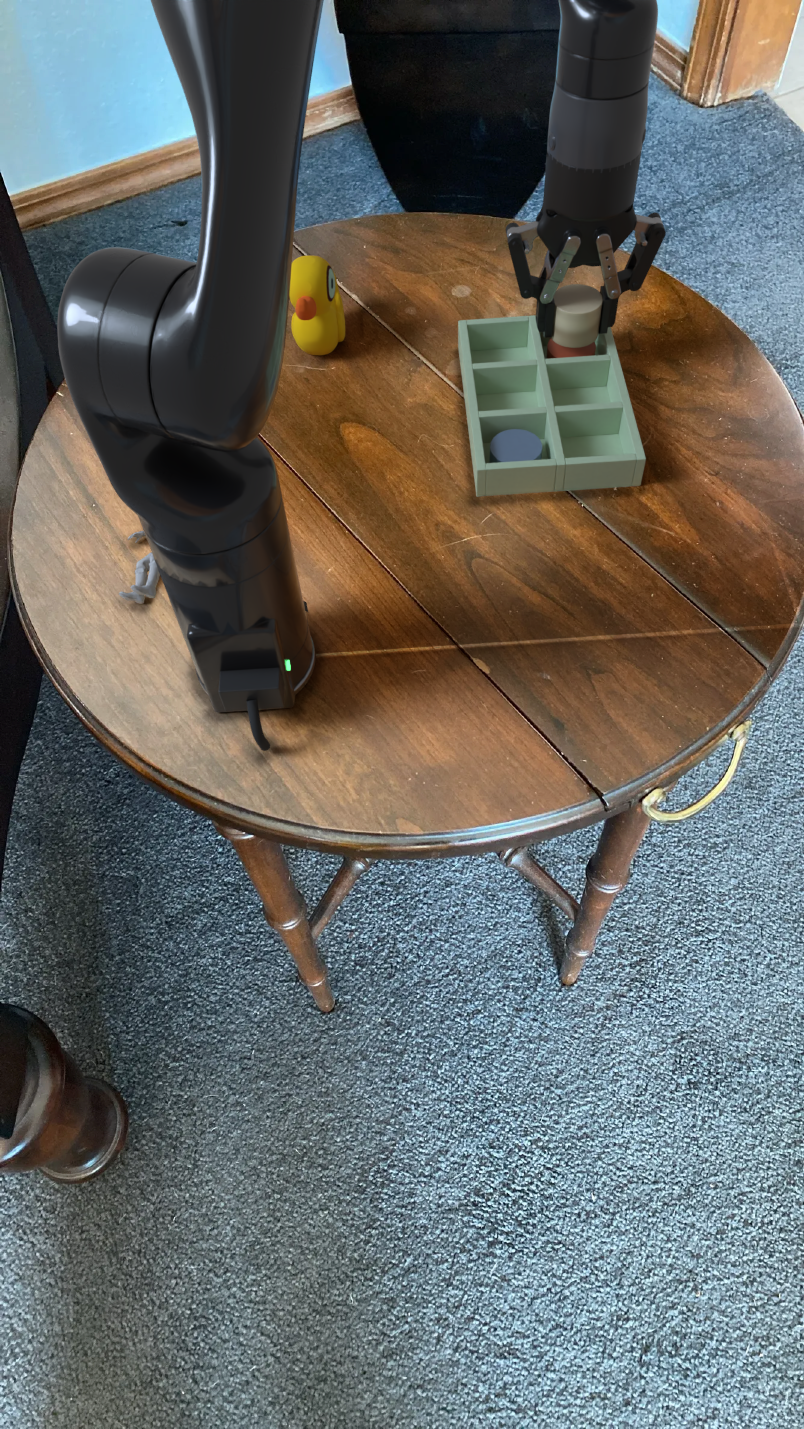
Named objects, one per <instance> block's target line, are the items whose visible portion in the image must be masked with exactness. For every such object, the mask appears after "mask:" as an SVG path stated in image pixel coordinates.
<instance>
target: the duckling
mask: <svg viewBox="0 0 804 1429" xmlns="http://www.w3.org/2000/svg"><path fill="white" fill-rule="evenodd" d="M336 275H337V274H336V273H335V271H334V269H333V267H332V266H331V265H330V263H329V262H328V261H327V260H326V259H325V258H324V257H321V256H319V255H312V254H311V255H310V254H309V255H307V254H306V255H301V256H299V257H296V258H295V259H294V260H292V266H291V280H290V293H289V303H291V305H292V306H293V308H294V312H293V314H292V316H291V322H290V324H291V325H290V327H291V334H292V336H293V339H294V341H295V343H296V345H297V346H298V348H299V349H300V350H301V351H303V353H306V354H308V355H311V356H327V355H329V354H331V353H332V352H333V351H334V350H335V349H336V348H337V346H338V344H339V343H341V342H343V341H344V340H345V337H346V318H345V308H344V303H343V299H342V295H341V293H340V289H339V284H338V279H337V276H336Z"/></svg>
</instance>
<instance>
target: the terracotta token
mask: <svg viewBox="0 0 804 1429" xmlns="http://www.w3.org/2000/svg"><path fill="white" fill-rule="evenodd" d="M595 350H596V344H595V342H593V343H592V344H590V345H587V346H585V347H580V348H569V347H564V346H561V345H559V344H557V343H555V342H554V341H553V340H552V339H550V340H549V342H548V345H547V356H546V359H551V358H565V357H580V356H595Z"/></svg>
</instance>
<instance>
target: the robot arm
mask: <svg viewBox="0 0 804 1429" xmlns="http://www.w3.org/2000/svg"><path fill="white" fill-rule="evenodd" d="M150 3H151V6H152V9H153V12H154V15H155V19H156V21H157V24H158V27H159V30H160V32H161V35H162V37H163V40H164V43H165V45H166V48H167V51H168V54H169V56H170V59H171V62H172V64H173V67H174V70H175V72H176V75H177V77H178V80H179V83H180V85H181V88H182V91H183V94H184V97H185V100H186V103H187V106H188V109H189V112H190V116H191V119H192V123H193V127H194V131H195V135H196V141H197V147H198V151H199V152H198V153H199V159H200V160H199V161H200V174H201V212H200V229H199V230H200V231H199V243H198V250H197V257H196V258H197V259H196V261H193V260H189V259H184V258H179V257H176V256H170V255H166V254H165V255H164V254H160V253H155V252H150V251H146V250H141V249H136V248H130V247H122V246H112V247H105V248H101V249H98V250H95V251H93V252H91V253H90V254H88V255H87V256H85V257H84V258H83V259H82V260H80V261H79V263H77V265H76V266H75V267H74V268H73V270H72V271H71V272H70V274H69V276H68V278H67V280H66V282H65V285H64V287H63V290H62V294H61V297H60V301H59V305H58V310H57V311H58V312H57V325H56V326H57V327H56V328H57V329H56V330H57V346H58V354H59V359H60V360H59V361H60V365H61V369H62V373H63V376H64V380H65V383H66V386H67V389H68V392H69V394H70V397H71V401H72V402H73V405H74V407H75V409H76V412H77V414H78V417H79V419H80V421H81V423H82V425H83V428H84V429H85V432H86V434H87V435H88V438H89V440H90V442H91V445H92V446H93V448H94V450H95V452H96V455H97V457H98V459H99V461H100V463H101V465H102V467H103V470H104V472H105V474H106V476H107V478H108V481H109V482H110V485H111V486H112V488H113V490H114V491H115V494H116V495H117V496H118V498H119V499H120V500H121V501H122V502H123V504H125V506H127V508H129V509H130V510H131V511H132V512H133V513H134V514H135V515H136V516H137V518H138V520H139V522H140V525H141V527H142V531H144V533H145V535H146V537H145V538H146V541H147V544H148V546H149V549H150V551H151V552H152V554H153V557H154V560H155V563H156V565H157V568H158V571H159V573H160V576H159V577H160V579H161V581H162V584H163V586H164V589H165V592H166V594H167V597H168V599H169V602H170V605H171V608H172V610H173V613H174V615H175V616H174V617H175V618H176V621H177V623H178V626H179V629H180V631H181V633H182V634H181V635H182V637H183V639H184V642H185V644H186V647H187V650H188V652H189V655H190V658H191V660H192V662H193V665H194V666H193V667H194V670H195V675H196V677H197V679H198V683H199V685H200V687H201V689H202V691H203V692H204V693H205V694H206V695H207V696H208V698H209V701H210V703H211V707H212V709H213V711H214V712H215V713H230V712H232V713H233V712H245V711H246V712H247V715H248V721H249V727H250V730H251V734H252V737H253V739H254V742H255V743H256V745H257V746H258V747H259V749H260V750H261V751H263V752H266V751H268V750H270V748H271V743H270V742H269V740H268V739H267V737H266V736H265V734H264V730H263V727H262V723H261V716H260V711H263V710H264V711H265V710H277V709H278V710H279V709H291V708H294V706H295V699H296V695H297V694H299V693H300V692H301V690H303V688H304V687H305V686H306V685H307V684H308V682H309V681H310V679H311V677H312V674H313V673H314V669H315V667H316V666H315V665H316V658H317V656H316V649H315V644H314V641H313V638H312V636H311V630H310V626H309V622H308V621H309V620H308V617H307V613H310V612H309V608H308V603H307V602H306V601H305V600H304V597H303V592H302V587H301V581H300V578H299V573H298V568H297V562H296V559H295V558H296V557H295V553H294V548H293V543H292V538H291V534H290V530H289V529H290V528H289V524H288V516H287V513H286V508H285V503H284V498H283V492H282V488H281V482H280V477H279V474H278V469H277V465H276V462H275V460H274V457H273V455H272V454H271V451H270V450H269V448H267V446H266V444H265V443H264V442H263V441H262V440H261V439H259V437H258V436H259V435H260V433H261V432H262V430H263V429H264V427H265V425H266V422H267V421H268V419H269V416H270V414H271V411H272V409H273V406H274V404H275V399H276V396H277V392H278V388H279V384H280V379H281V373H282V368H283V362H284V356H285V348H286V339H287V328H288V327H287V326H288V315H289V307H290V306H289V304H290V300H289V293H290V280H291V266H292V262H293V253H294V252H293V251H294V237H295V227H296V226H295V225H296V213H297V200H298V199H297V198H298V185H299V184H298V183H299V173H300V166H301V156H302V148H303V139H304V132H305V124H306V117H307V109H308V104H309V96H310V90H311V81H312V76H313V69H314V62H315V56H316V49H317V44H318V43H317V42H318V36H319V31H320V24H321V18H322V13H323V7H324V0H150ZM558 5H559V12H560V25H559V33H558V41H557V54H556V65H555V66H556V68H555V79H554V87H553V93H552V98H551V102H550V109H549V115H548V116H549V119H548V131H547V142H546V143H547V145H546V159H545V169H544V184H543V197H542V198H543V199H542V205H541V208H540V210H539V212H538V214H537V215H536V218H535V220H534V221H531V222H528V223H526V224H522V225H519V224H518V223H517V222H513V221H512V222H510V223H508V224H507V225H506V226H505V235H506V240H507V241H506V242H507V247H508V250H509V254H510V258H511V261H512V266H513V271H514V274H515V278H516V282H517V287H518V290H519V294H520V297H521V298H522V299H524V300H529V299H531V298H533V299H535V300H536V307H535V315H536V318H535V319H536V324H537V328H538V331H539V332H543V336H544V338H548V337H552V330H553V319H554V309H555V301H554V295H555V293H556V290H558V289H559V286H560V284H561V283H563V281H564V279H565V277H566V275H567V272H568V271H569V269H575V268H578V267H581V266H587V267H591V268H592V267H599V268H600V271H601V276H602V280H603V285H600V287H599V292H600V293H601V295H602V299H603V303H602V311H601V318H600V325H599V334H606V333H607V331H608V327H611V328H614V325H615V324H616V318H617V312H618V307H619V306H618V305H619V299H620V297H621V295H622V294H624V293H625V292H627V291H628V292H629V291H631V292H637V291H639V290H640V289H641V288H642V286H643V284H644V282H645V280H646V277H647V276H648V273H649V271H650V269H651V267H652V265H653V263H654V261H655V258H656V256H657V254H658V253H659V250H660V248H661V245H662V243H663V241H664V240H665V237H666V234H667V231H666V229H665V226H664V222H663V220H662V217H661V214H660V213H659V212H657V211H656V212H651V213H650V214H648V215H647V216H646V215H641V214H637V213H636V212H635V209H634V203H635V197H636V191H637V185H638V184H637V183H638V177H639V171H640V164H641V157H642V156H641V155H642V152H643V146H644V142H645V140H646V134H647V126H646V124H647V120H648V118H647V117H648V106H649V105H648V104H649V84H650V83H649V82H650V75H651V69H652V62H653V55H654V48H655V41H656V34H657V29H658V28H657V27H658V19H659V7H658V6H659V5H658V0H558ZM633 232H634V239H635V241H636V242H635V244H634V246H633V247H632V251H631V253H630V255H629V258H628V259H627V262H626V264H625V266H624V269H621V270H619V271H618V269H617V264H616V258H615V255H614V254H615V253H616V252H617V250H619V248H620V247H621V246H622V244H624V242H625V241H626V240H627V239H628V238H629V237H630V235H631V234H632V233H633ZM538 237H539V239H540V240H541V242H542V243H543V245H544V246H545V248H546V249H547V251H546V254H545V256H544V260H543V265H542V268H541V270H540V273H539V275H538V276H535V275H532V274H531V271H530V267H529V263H528V258H527V255H528V254H530V252H531V251H532V250H533V248H534V241H535V239H537V238H538Z"/></svg>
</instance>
